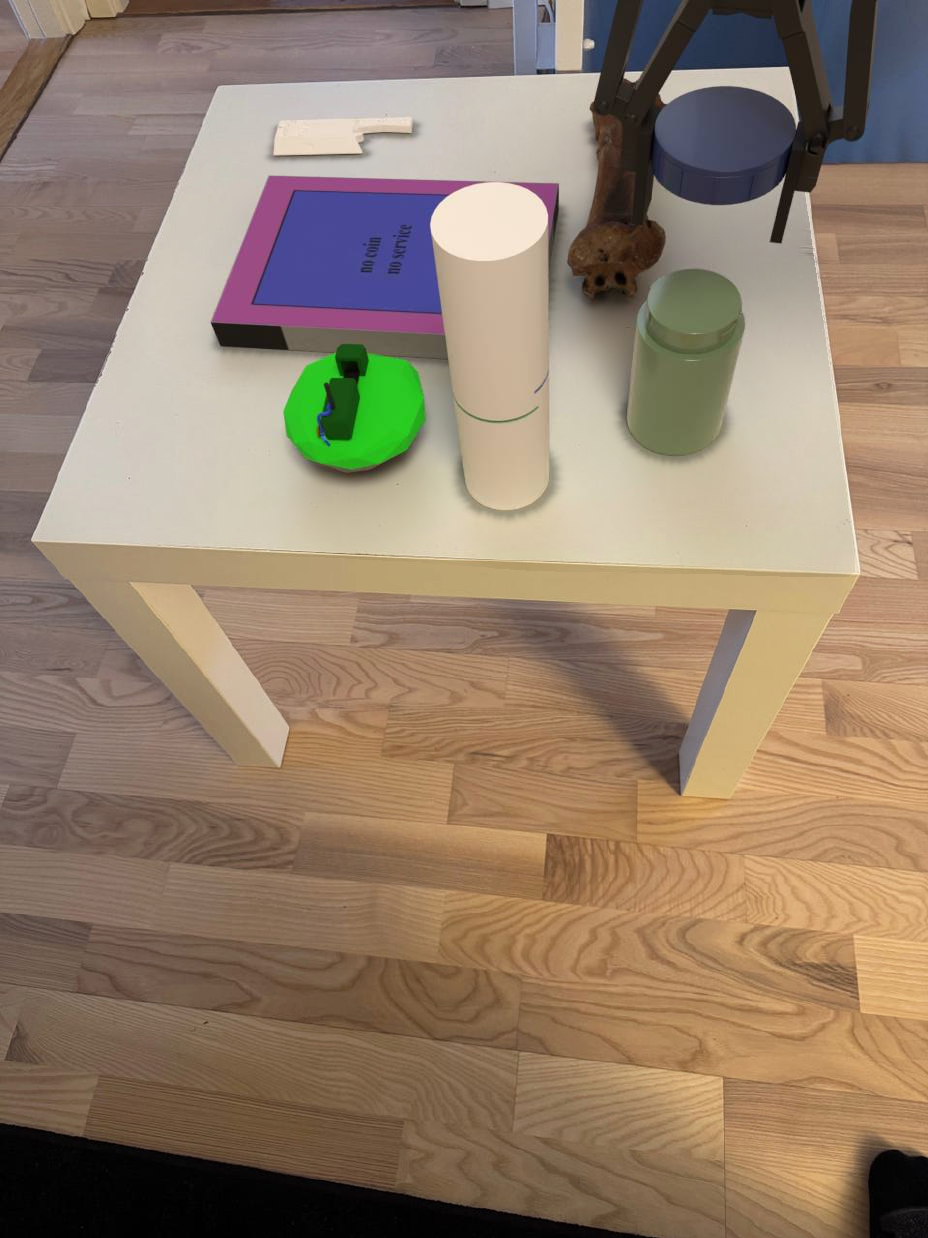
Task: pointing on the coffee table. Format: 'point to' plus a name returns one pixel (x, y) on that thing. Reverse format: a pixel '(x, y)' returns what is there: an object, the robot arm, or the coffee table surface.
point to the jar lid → (722, 145)
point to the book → (344, 266)
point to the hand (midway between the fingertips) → (709, 219)
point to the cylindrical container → (497, 336)
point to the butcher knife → (332, 134)
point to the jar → (684, 361)
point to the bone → (614, 221)
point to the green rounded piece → (355, 409)
